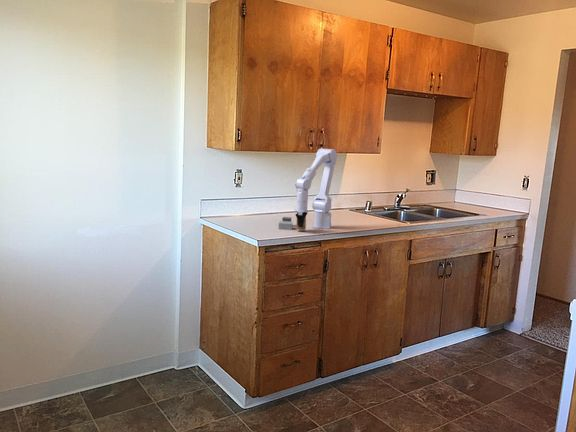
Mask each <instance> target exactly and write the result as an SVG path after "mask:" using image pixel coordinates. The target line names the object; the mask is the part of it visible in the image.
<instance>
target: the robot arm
mask: <svg viewBox="0 0 576 432" xmlns="http://www.w3.org/2000/svg"><path fill="white" fill-rule="evenodd" d="M315 155H316V156H315V159H314V161H313V162H312V164H311V166H310V167H308V168H306V170H305V171H304V173H303V174H302V176H301V177H300V178H298V179H296V181H295V183H294V185H295V188H296V208H294V209H293V210H294V211H296V213H295V217H296V221H297V220H298V226H299V227H303V224H304V219H305V218H306V217H307V215H308V203H309V202H308V199H309V190H310V188H311V185H312V184H313V183H312V182H313V180H314V178H315V176H316V175H317V170H319V168H320V167H321V166H322V165H323V166H324V168H323V173H322V177H321V183H320V188H319V193H318V194H317V195H315V196H314V199H313V201H312V202H311V203H312V204H311V207H312V210H313V211H314V222H313V223H314V224H313V226H312V228H313V229H314V228H315V229H324V230H331V226H332V212H330V211H331V210H332V201H333V200H332V198H331V196H329V194H330V188H331V185H332V179H333V174H334V169H335V166H336V164H337V158H338V153H337V151H336V149H335V148H330V149H329V148H322V147H320V148H318V150H317V152H316V153H315ZM306 219H307V218H306Z"/></svg>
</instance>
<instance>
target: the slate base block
mask: <svg viewBox="0 0 576 432" xmlns="http://www.w3.org/2000/svg"><path fill="white" fill-rule="evenodd" d="M278 230H285V231H292V230H293V221H291V222H289V221H282V220H279V223H278Z"/></svg>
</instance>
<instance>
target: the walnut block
mask: <svg viewBox="0 0 576 432" xmlns="http://www.w3.org/2000/svg"><path fill="white" fill-rule="evenodd" d="M306 228H307V218H305V219H304V224H303V227H299V226H298V220H297V219H296V227H295V230H299V231H300V230H302V231H305V230H306Z"/></svg>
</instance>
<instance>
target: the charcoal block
mask: <svg viewBox="0 0 576 432" xmlns="http://www.w3.org/2000/svg"><path fill="white" fill-rule="evenodd" d="M281 221H289V222H292V217H289V216H283V217H282V220H281Z"/></svg>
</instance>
